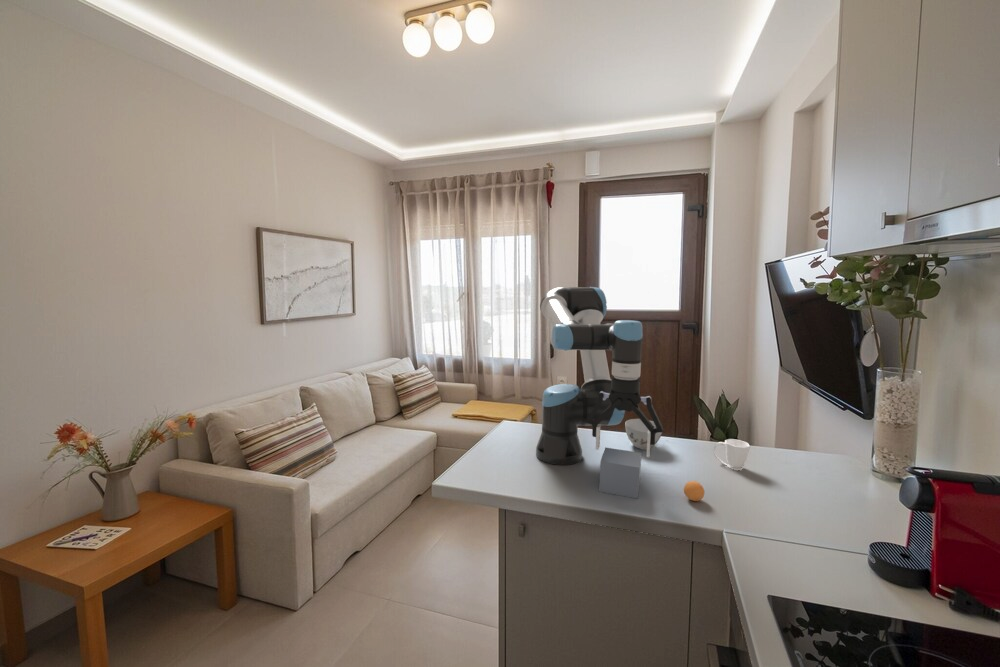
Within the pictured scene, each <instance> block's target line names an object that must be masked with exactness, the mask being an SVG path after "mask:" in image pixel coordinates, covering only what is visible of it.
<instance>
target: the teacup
mask: <svg viewBox="0 0 1000 667" xmlns="http://www.w3.org/2000/svg"><path fill="white" fill-rule="evenodd" d="M649 421H650V422H651V423H652V425H653V426H654V427H656V426H655V424H654V421H653V420H649ZM624 423H625V424H624V426H625V427H624V428H625V432H626V435H627V438H628V440H629V442H631V443H632V445H633V446H634V448H636V449H641V450H647V436H648V431H649V430H648V429H647V427H646V426H645V425H644V423H643V422H642V421H641V420H640V418H630V419H628V420H626V421H625V422H624ZM662 434H663V431H662V432H661V433H660V432H658V433H656V434H655V444H654V445H650V449H651V448H652V447H654V446H655V445H656V444H657V443H658V442H659V440H660V439H661V436H662Z"/></svg>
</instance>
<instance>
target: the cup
mask: <svg viewBox="0 0 1000 667" xmlns="http://www.w3.org/2000/svg"><path fill="white" fill-rule="evenodd" d="M719 444H720V445H723V446H724V448H725V457H726V461H727V463H726V462H725V461H723V460H722V459H721V458H720V457H719V456H718V455H717V454H716V447H717V445H719ZM750 448H751V446H750V444H749V442H747V441H743V440H741V439H734V438H728V439H725V440H724V441H719V442H717V443H715V444H714V447H713V449H712V450H713V451H712V452H713V455H714V457H715V458H716V460H718V461H719V462H720V463H721V464H723V465H724V466H726V465H727V468H728V467H729V469H730V468H731V469H730V470H733V469H734V470H733V471H738V470H740V471H743V470H744V468H743V467H745V463H746V462H747V458H748V455H749V451H750ZM742 469H743V470H742Z"/></svg>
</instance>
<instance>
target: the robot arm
mask: <svg viewBox="0 0 1000 667" xmlns="http://www.w3.org/2000/svg"><path fill="white" fill-rule="evenodd" d="M607 302H608V301H607V298H606V295H605V292H604V290H602V289H601V287H595V286H587V287H586V286H585V287H583V286H582V287H581V286H558V287H555V288H553V289H552V288H551V289H550V290H549V291H547V292H546V293H545V294H544V295H543V296H542V298H541V299H540V304H539V308H540V311H541V314H542V316H543V317H545V319H547V320H548V321H549V323H550V325H551V327H552V331H551V342H552V346H553V348H554V350H559V351H560V350H561V351H580V357H581V364H582V365H581V366H582V373H583V378H584V379H583V380H584V383H583V384H582V385H581V388H580V387H579V386H578V385H577V384H573V383H570V384H569V383H561V384H560V383H559V384H555V385H551V386H549V387H547V388H545V389H544V391H543V392H542V393H543V394H542V401H541V405H542V409H541V410H542V412H541V413H542V419H541V420H542V421H541V434H540V436H539V439H538V441H537V445H536V447H535V448H536V449H535V450H536V451H535V456H536V457H537V458H538V459H539V460H541V461H543V462H545V463H547V464H552V465H555V466H556V465H558V466H559V465H560V466H567V465H568V466H569V465H573V464H577V463H579V462H580V461H581V460H582V458H583V448H582V445H581V442H580V439H579V434H578V427H579V426H582V427H583V426H586V427H587V426H589V427H590V426H592V428H591V429H592V431H591V432H592V434H591V436H592V437H593V438H595V450H596V451H598V450H599V449H600V446H601V444H600V443H601V426H606V427H608V426H617V425H619V424H620V423H622V421H623V419H624V416H625V412H627V413H628V412H629V413H630V412H631V411H633V412H634V414H635V415H636V416H637V418H638V419H640V420H641V421H642V422H643V423H644V425H645V426H646V427H647V429H648V430H649V431H648V436H647V449H646V455H645V456H646V458H650V454H651V452H650V451H651V448H650V445H654V444H655V434H656V433H658V432H660V433H661V432H662V433H663V425H662V423H661V420H660V418H659V416H658V414H657V411H656V409H655V408H654V405H653V403H652V395H647V396H641V395H640V390H641V387H640V386H641V379H640V377H641V372H642V371H641V368H642V347H643V346H642V345H643V336H644V333H643V324H642V322H641V321H639V320H634V319H633V320H631V319H620V320H616V321H615V322H614V323H612V322H611V323H609V322H608V323H605V324H602V323H601V322H602V321H603V319H604V317H605V316H606V314H607V310H608V307H607ZM606 351H612V357H611V360H612V362H611V375H612V377H611V376H610V369H609V365H608V358H607V353H606ZM640 402H642V403H643V404H644V406H646V408H647V410H648V412H649V415H650V417H651V419H652V421H653V422H654V424H655V426H656V427H654V426H653V425H652V423H651V422H650V421H651V420H649V418H648V417H647V416H646V415H645V413H644V412H643V411H642V410H641V408H640V406H639V404H640ZM655 445H656V444H655ZM655 445H654V446H655Z"/></svg>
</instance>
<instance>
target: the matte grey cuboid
mask: <svg viewBox="0 0 1000 667" xmlns="http://www.w3.org/2000/svg"><path fill="white" fill-rule="evenodd" d="M642 456H643V455H642V452H639V451H638V452H637V451H632V450H626V449H625V450H624V449H617V448H611V447H605V448H604V450H603V453H602V456H601V459H600V463H599V465H600V467H599V485H598V486H599V487H598V492H600V493H606V494H611V495H616V496H622V497H627V498H633V499H639V492H640V483H641V471H642V470H641V467H642Z"/></svg>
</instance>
